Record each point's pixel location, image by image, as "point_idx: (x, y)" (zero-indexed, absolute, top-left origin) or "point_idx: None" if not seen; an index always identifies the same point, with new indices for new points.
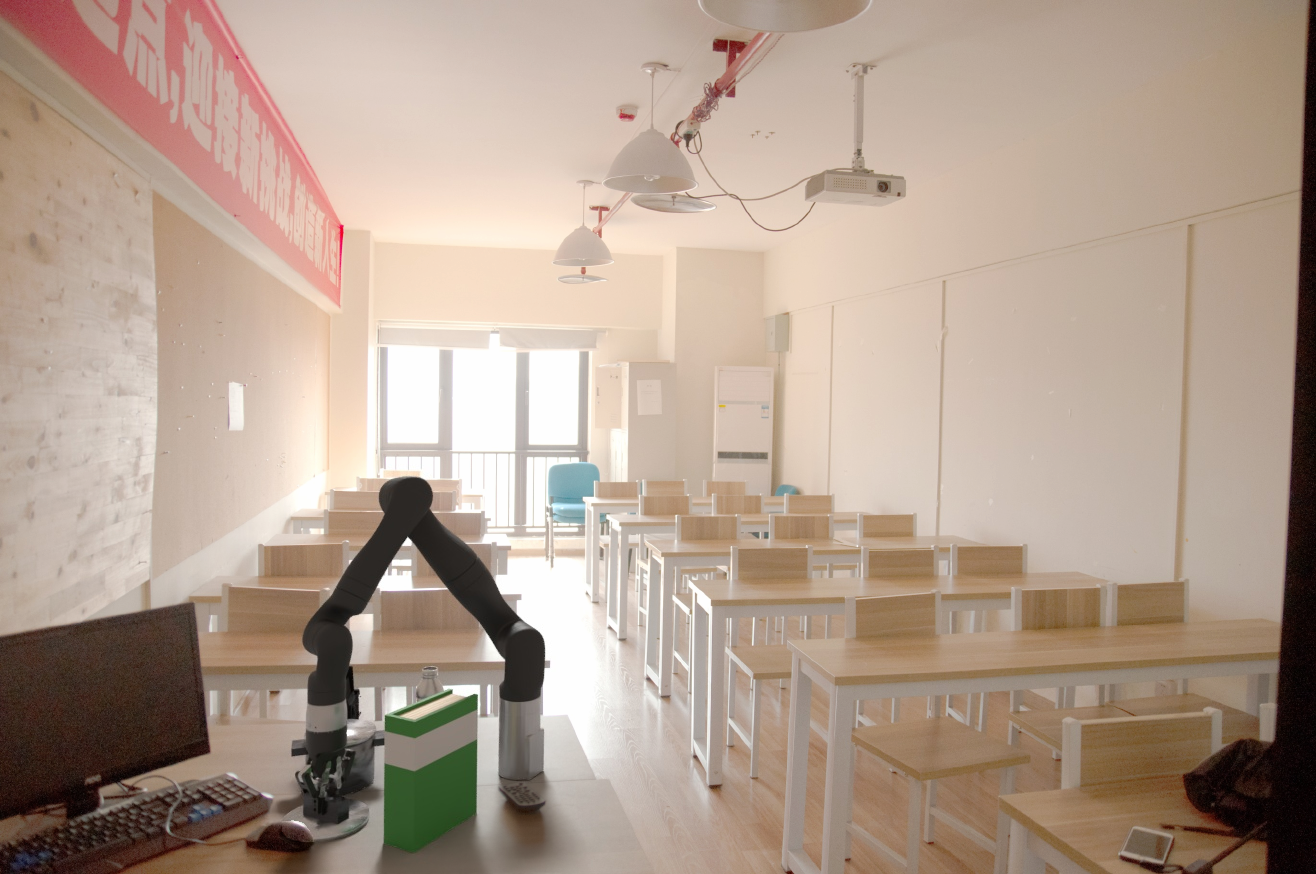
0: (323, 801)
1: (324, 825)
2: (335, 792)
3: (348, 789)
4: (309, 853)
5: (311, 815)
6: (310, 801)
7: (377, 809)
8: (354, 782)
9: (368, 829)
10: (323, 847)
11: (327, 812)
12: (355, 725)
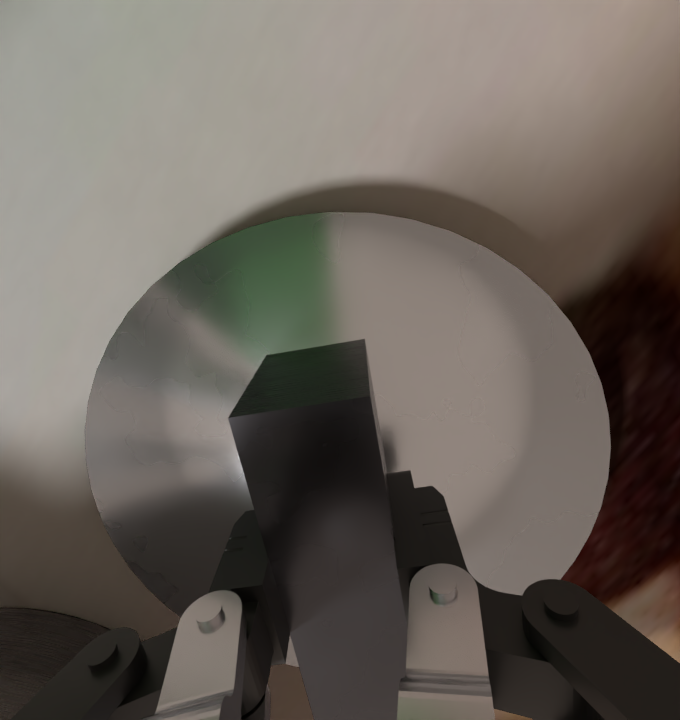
0: (411, 535)
1: (423, 398)
2: (265, 573)
3: (68, 641)
4: (672, 209)
5: None
6: None
7: (48, 358)
8: (11, 663)
9: (234, 166)
10: (570, 203)
11: (383, 457)
12: None
